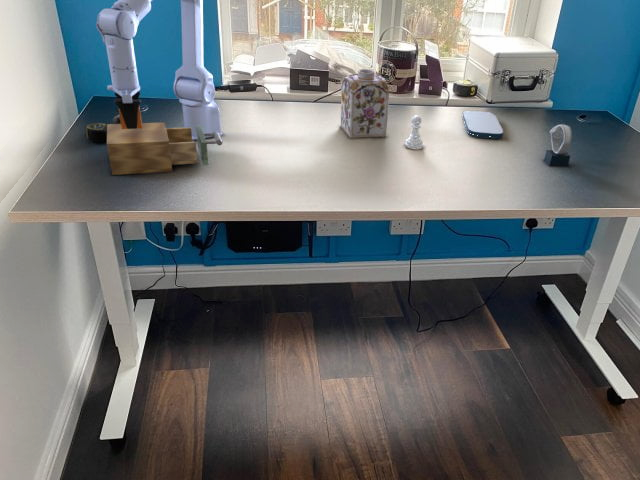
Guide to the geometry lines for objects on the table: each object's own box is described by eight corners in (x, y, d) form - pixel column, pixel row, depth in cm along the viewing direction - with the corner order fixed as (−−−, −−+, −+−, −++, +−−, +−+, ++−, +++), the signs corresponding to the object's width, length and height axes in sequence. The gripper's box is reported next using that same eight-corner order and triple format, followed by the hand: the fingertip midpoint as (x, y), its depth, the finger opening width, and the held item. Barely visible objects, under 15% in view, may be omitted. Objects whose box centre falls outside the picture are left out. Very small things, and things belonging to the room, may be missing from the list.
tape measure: (114, 143, 159) (111, 130, 157) (85, 144, 157) (83, 130, 155) (115, 135, 165) (113, 121, 163) (88, 136, 163) (85, 122, 161)
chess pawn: (406, 142, 178) (409, 112, 173) (423, 145, 178) (426, 114, 173) (403, 148, 174) (406, 117, 169) (420, 150, 173) (424, 119, 169)
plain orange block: (141, 122, 147) (139, 103, 145) (142, 128, 144) (139, 109, 141) (121, 123, 146) (118, 104, 143) (121, 129, 142) (118, 109, 140)
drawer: (218, 145, 162) (216, 124, 158) (225, 163, 151) (223, 141, 148) (152, 149, 156) (149, 127, 153) (155, 168, 146) (152, 144, 142)
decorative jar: (375, 125, 190) (379, 66, 181) (387, 137, 181) (392, 75, 171) (338, 126, 187) (341, 66, 177) (349, 138, 177) (351, 75, 168)
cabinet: (168, 150, 158) (164, 122, 154) (172, 171, 147) (168, 141, 143) (112, 153, 154) (107, 124, 150) (112, 175, 142) (106, 144, 138)
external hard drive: (504, 140, 187) (505, 134, 186) (467, 137, 186) (468, 131, 185) (493, 118, 207) (494, 112, 206) (460, 115, 206) (461, 109, 205)
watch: (559, 158, 177) (568, 121, 171) (570, 168, 170) (579, 130, 164) (541, 157, 176) (549, 120, 170) (551, 168, 169) (560, 129, 163)
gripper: (104, 59, 142) (113, 116, 149) (103, 74, 131) (113, 135, 138) (136, 59, 144) (144, 115, 151) (138, 74, 133) (146, 134, 140)
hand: (131, 125), depth 145 cm, fingers closed on plain orange block, 4 cm apart
